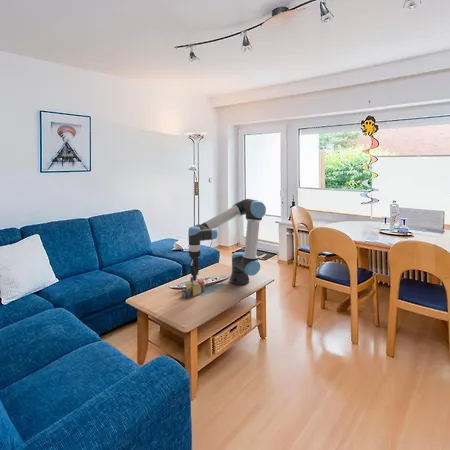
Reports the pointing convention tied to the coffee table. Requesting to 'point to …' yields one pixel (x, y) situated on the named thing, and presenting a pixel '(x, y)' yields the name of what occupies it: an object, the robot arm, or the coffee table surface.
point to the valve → (192, 290)
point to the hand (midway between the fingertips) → (195, 284)
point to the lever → (197, 281)
